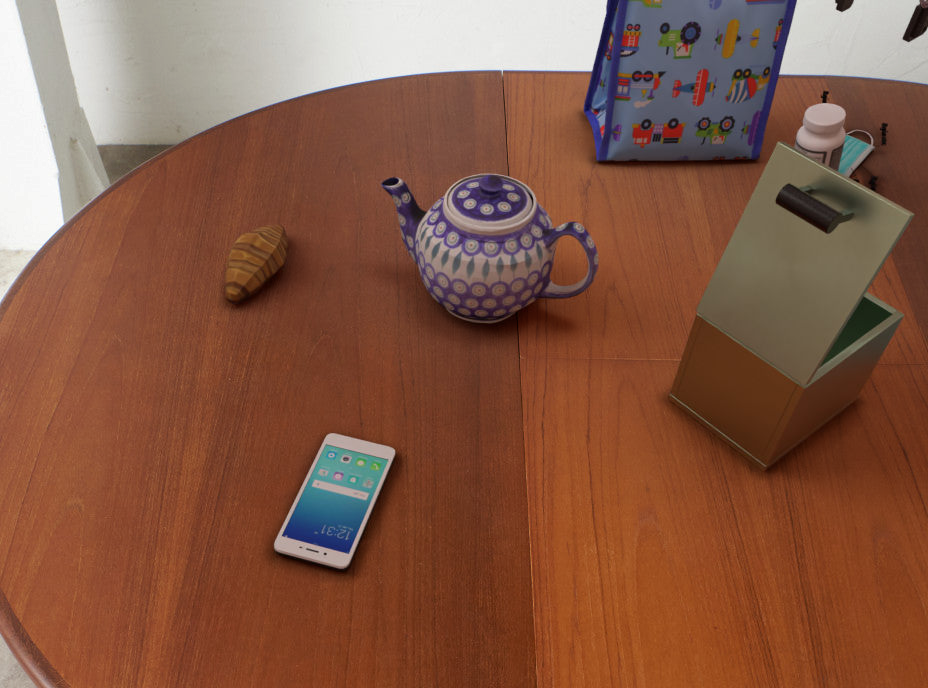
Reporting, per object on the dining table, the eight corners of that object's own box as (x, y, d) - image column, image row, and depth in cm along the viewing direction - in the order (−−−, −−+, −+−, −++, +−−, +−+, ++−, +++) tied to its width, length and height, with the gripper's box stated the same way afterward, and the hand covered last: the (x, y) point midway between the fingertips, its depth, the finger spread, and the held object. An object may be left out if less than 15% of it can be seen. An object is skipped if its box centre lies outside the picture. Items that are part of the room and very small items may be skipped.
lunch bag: (733, 108, 133) (804, -125, 109) (758, 164, 124) (841, -75, 101) (580, 110, 132) (619, -124, 108) (596, 167, 123) (642, -74, 100)
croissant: (261, 315, 105) (255, 280, 101) (206, 301, 107) (199, 266, 103) (308, 243, 113) (305, 208, 109) (256, 231, 114) (251, 196, 110)
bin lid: (782, 140, 78) (751, 146, 75) (915, 214, 72) (887, 223, 70) (699, 308, 89) (670, 319, 86) (809, 383, 83) (781, 397, 81)
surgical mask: (820, 85, 129) (897, 97, 127) (810, 115, 132) (884, 127, 130) (812, 168, 117) (896, 183, 115) (801, 199, 120) (882, 213, 119)
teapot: (607, 288, 109) (633, 174, 97) (558, 371, 101) (580, 258, 89) (414, 224, 116) (416, 110, 104) (353, 298, 107) (348, 183, 95)
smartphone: (398, 448, 93) (347, 569, 84) (398, 453, 94) (348, 574, 85) (327, 431, 94) (270, 548, 85) (328, 436, 95) (271, 553, 86)
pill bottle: (821, 167, 123) (837, 95, 115) (842, 191, 119) (860, 119, 112) (779, 178, 123) (792, 107, 115) (799, 202, 119) (814, 131, 112)
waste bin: (761, 335, 105) (797, 248, 95) (856, 400, 99) (905, 314, 90) (667, 399, 99) (696, 313, 89) (763, 471, 93) (805, 388, 84)
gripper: (1033, -133, 89) (951, 39, 102) (902, -177, 95) (841, -10, 108) (991, -113, 86) (913, 61, 99) (858, -160, 92) (801, 9, 105)
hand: (875, 23), depth 104 cm, fingers open, 8 cm apart
